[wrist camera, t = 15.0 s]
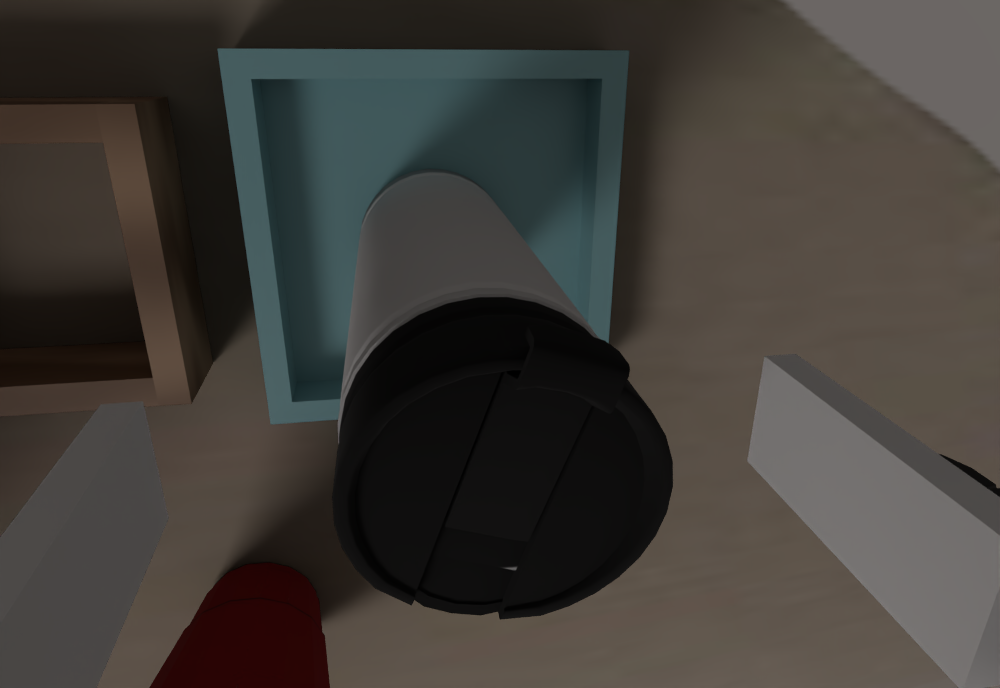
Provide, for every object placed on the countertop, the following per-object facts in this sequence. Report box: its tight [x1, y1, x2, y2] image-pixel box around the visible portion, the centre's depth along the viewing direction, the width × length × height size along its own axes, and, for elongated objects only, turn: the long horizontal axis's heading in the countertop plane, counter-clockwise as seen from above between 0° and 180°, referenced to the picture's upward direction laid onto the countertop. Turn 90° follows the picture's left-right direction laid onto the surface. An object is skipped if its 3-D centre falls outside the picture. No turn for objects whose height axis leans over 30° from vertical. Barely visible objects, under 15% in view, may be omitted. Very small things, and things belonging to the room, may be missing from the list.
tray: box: [217, 49, 629, 424], centre depth 30 cm, size 15×15×3 cm
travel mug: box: [332, 169, 673, 619], centre depth 21 cm, size 6×7×20 cm
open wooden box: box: [0, 97, 213, 417], centre depth 27 cm, size 12×12×4 cm
